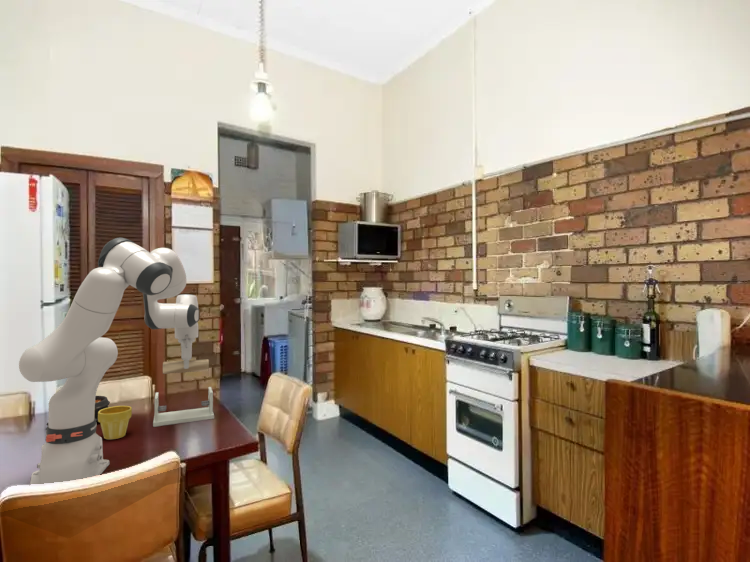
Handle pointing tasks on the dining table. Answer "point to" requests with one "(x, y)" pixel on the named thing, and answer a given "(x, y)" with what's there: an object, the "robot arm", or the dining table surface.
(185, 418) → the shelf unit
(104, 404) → the casserole
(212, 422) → the dining table surface
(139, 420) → the dining table surface
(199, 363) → the pine batten
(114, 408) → the plant pot
